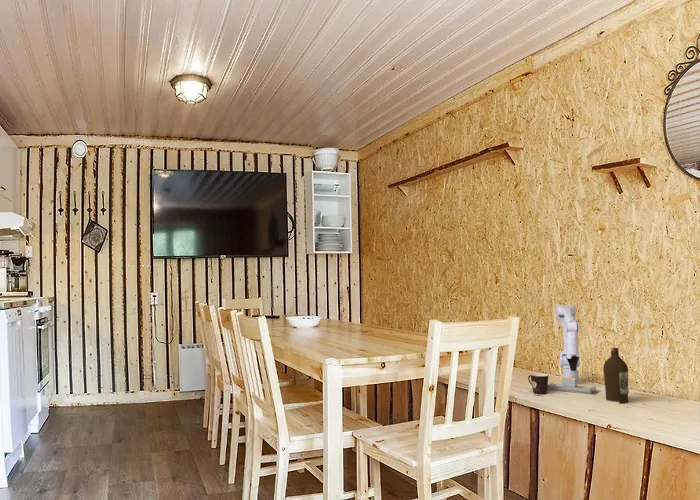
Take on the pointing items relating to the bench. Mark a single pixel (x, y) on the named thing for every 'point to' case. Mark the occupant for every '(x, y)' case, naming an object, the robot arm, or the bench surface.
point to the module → (570, 382)
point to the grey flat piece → (571, 388)
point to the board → (581, 393)
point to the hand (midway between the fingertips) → (573, 370)
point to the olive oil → (616, 378)
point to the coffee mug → (539, 383)
